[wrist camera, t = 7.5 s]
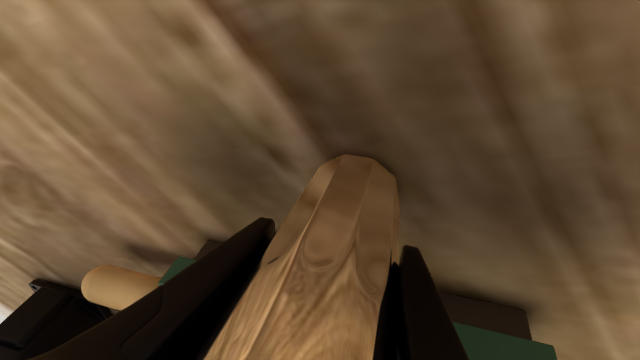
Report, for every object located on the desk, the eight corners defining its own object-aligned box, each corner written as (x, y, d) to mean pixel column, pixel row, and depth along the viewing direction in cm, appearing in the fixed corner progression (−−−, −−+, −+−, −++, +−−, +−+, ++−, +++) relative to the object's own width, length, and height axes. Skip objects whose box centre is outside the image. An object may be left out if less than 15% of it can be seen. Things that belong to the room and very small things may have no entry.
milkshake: (406, 103, 10) (297, 688, 2) (425, 234, 13) (407, 699, 5) (274, 124, 12) (-42, 493, 4) (316, 235, 14) (177, 581, 7)
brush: (543, 307, 14) (569, 397, 11) (496, 373, 17) (507, 452, 15) (101, 210, 18) (45, 257, 16) (137, 278, 22) (96, 325, 19)
